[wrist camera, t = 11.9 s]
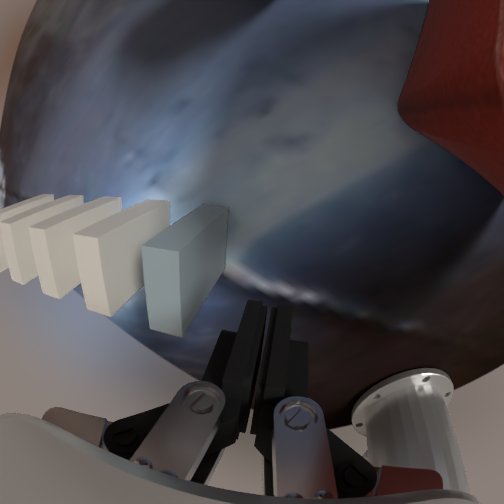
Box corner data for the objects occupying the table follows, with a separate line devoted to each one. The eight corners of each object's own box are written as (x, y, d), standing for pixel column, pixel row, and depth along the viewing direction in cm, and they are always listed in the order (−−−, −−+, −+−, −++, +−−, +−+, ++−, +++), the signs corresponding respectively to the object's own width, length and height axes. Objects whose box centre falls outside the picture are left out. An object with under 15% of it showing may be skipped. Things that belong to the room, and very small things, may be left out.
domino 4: (170, 259, 23) (111, 317, 15) (150, 255, 23) (87, 309, 15) (169, 200, 21) (97, 238, 13) (148, 199, 22) (72, 234, 13)
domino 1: (58, 239, 25) (-2, 273, 17) (48, 237, 25) (-10, 269, 17) (53, 194, 23) (-14, 219, 15) (43, 194, 23) (-21, 218, 15)
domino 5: (224, 268, 23) (182, 337, 14) (201, 264, 23) (149, 328, 15) (228, 207, 21) (179, 252, 12) (203, 204, 21) (141, 245, 13)
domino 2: (88, 244, 24) (23, 285, 16) (74, 242, 25) (12, 279, 16) (83, 195, 23) (10, 223, 14) (69, 194, 23) (-1, 222, 15)
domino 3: (125, 251, 24) (59, 299, 16) (108, 248, 24) (42, 293, 16) (121, 197, 22) (44, 229, 14) (104, 196, 22) (28, 227, 14)
